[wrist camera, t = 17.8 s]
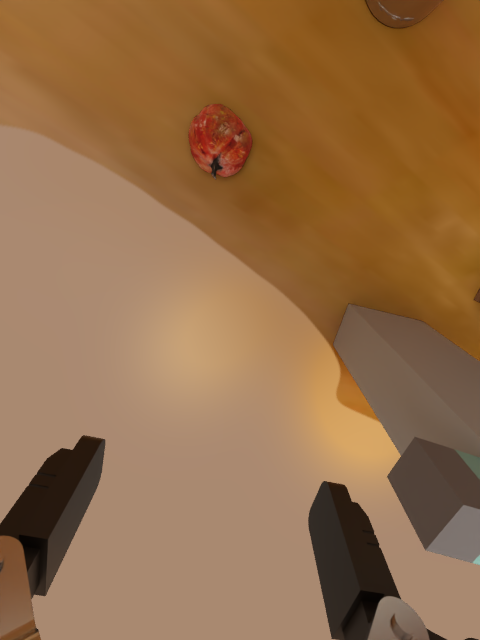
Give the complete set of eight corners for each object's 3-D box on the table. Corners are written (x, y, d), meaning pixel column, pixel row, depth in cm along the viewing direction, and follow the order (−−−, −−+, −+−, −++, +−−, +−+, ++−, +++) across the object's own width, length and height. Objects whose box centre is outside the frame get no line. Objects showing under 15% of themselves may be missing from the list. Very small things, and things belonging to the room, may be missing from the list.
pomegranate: (197, 116, 43) (170, 176, 40) (213, 65, 36) (182, 133, 33) (248, 145, 45) (226, 204, 42) (272, 102, 38) (248, 169, 35)
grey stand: (332, 344, 52) (451, 537, 23) (348, 303, 50) (503, 461, 21) (403, 360, 53) (601, 564, 24) (422, 321, 51) (667, 494, 22)
